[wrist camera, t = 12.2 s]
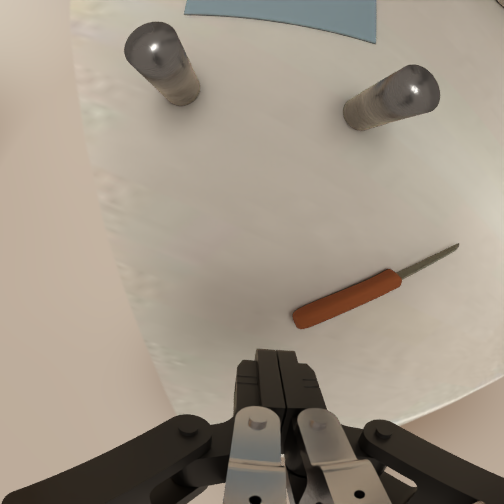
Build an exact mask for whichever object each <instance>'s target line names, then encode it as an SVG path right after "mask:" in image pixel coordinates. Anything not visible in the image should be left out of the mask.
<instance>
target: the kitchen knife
mask: <svg viewBox="0 0 504 504" xmlns="http://www.w3.org/2000/svg"><path fill="white" fill-rule="evenodd" d="M458 247H459V243H458V244H456V245H453V246H451V247H449V248H447V249H445V250H443V251H441V252H439V253H437V254H435V255H433V256H431V257H429V258H426V259H424V260H422V261H420V262H418V263H416V264H414V265H412V266H410V267H408V268H406V269H403V270H401V271H399V272H397V273H395V272H394V271H393V270H391V269H387V270H385V271H383V272H382V273H380V274H378V275H376V276H374V277H372V278H370V279H368V280H365V281H363V282H361V283H359V284H356V285H354V286H351V287H349V288H347V289H344V290H342V291H339V292H337V293H334V294H332V295H329V296H327V297H324V298H322V299H319V300H317V301H314V302H312V303H309V304H307V305H305V306H303V307H301V308H299V309H298V310H296V311H295V312H294V313H293V320H294V322H295V325H296V327H297V328H299V329H305V328H309V327H311V326H314V325H316V324H319V323H321V322H324V321H326V320H328V319H331V318H333V317H335V316H338V315H340V314H342V313H345V312H347V311H349V310H351V309H354V308H356V307H358V306H360V305H363V304H365V303H367V302H369V301H371V300H373V299H376V298H378V297H380V296H382V295H384V294H386V293H388V292H390V291H392V290H394V289H396V288H398V287H400V285H401V283H402V279H404V278H406V277H408V276H410V275H412V274H414V273H416V272H418V271H420V270H422V269H423V268H425V267H427V266H429V265H431V264H433V263H434V262H436V261H438V260H440V259H442V258H443V257H445V256H447V255H449V254H450V253H452V252H454V251H455V250H456V249H457V248H458Z"/></svg>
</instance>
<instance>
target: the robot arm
mask: <svg viewBox="0 0 504 504" xmlns="http://www.w3.org/2000/svg"><path fill="white" fill-rule="evenodd" d="M497 1H498V2H499V3H500V4H501V5H502V6H503V7H504V0H497ZM281 454H284V456H285V462H284V465H283V466H281ZM387 466H388V467H390V468H391V469H393V470H395V471H396V472H398V473H400V474H402V475H403V476H405V477H407V478H409V479H411V480H412V481H414V482H415V483H416V485H417V487H411V486H409V485H407V484H405V483H403V482H401V481H400V480H398V479H396V478H394V477H393V476H391V475H389V474H388V473H386V472H384V470H385V468H386V467H387ZM220 483H226V485H225V491H224V499H223V504H287V502H286V489H287V493H288V497H289V502H290V504H504V478H503V477H500V476H498V475H496V474H494V473H491V472H489V471H487V470H485V469H483V468H480V467H478V466H476V465H474V464H472V463H469V462H468V461H465V460H463V459H461V458H459V457H457V456H455V455H453V454H451V453H449V452H447V451H445V450H443V449H441V448H439V447H437V446H435V445H433V444H431V443H429V442H427V441H426V440H424V439H422V438H420V437H418V436H416V435H414V434H412V433H410V432H409V431H406V430H405V429H403V428H401V427H399V426H398V425H396V424H394V423H392V422H390V421H386V420H373V421H370V422H368V423H367V424H366V425H365V427H364V429H359V428H353V427H348V426H344V425H342V424H340V422H339V420H338V418H337V417H336V416H335V415H334V414H333V413H331V412H330V411H328V410H327V408H326V405H325V402H324V399H323V396H322V393H321V390H320V388H319V384H318V381H317V378H316V375H315V372H314V370H312V369H311V368H310V367H309V366H308V365H307V364H301V363H298V361H297V357H296V354H295V351H284V350H276V351H275V350H268V349H257V350H256V355H255V361H251V360H242V362H241V363H240V364H239V365H238V367H237V374H236V383H235V392H234V413H233V417H232V418H231V419H230V420H228V421H226V422H224V423H220V424H214V425H210V424H209V423H208V422H207V421H206V420H205V419H203V418H201V417H198V416H195V415H188V414H185V415H178V416H175V417H173V418H171V419H169V420H168V421H166V422H164V423H162V424H160V425H158V426H157V427H155V428H153V429H151V430H149V431H147V432H146V433H143V434H142V435H140V436H138V437H136V438H134V439H132V440H130V441H128V442H126V443H124V444H122V445H120V446H118V447H116V448H114V449H112V450H110V451H108V452H106V453H104V454H102V455H100V456H98V457H95V458H93V459H91V460H89V461H87V462H85V463H82V464H80V465H78V466H76V467H73V468H71V469H69V470H67V471H64V472H62V473H60V474H57V475H55V476H52V477H50V478H47V479H45V480H43V481H40V482H37V483H35V484H32V485H30V486H27V487H24V488H22V489H19V490H16V491H13V492H11V493H9V494H8V495H7V496H6V497H5V498H4V499H3V501H2V504H187V503H188V502H189V501H191V500H192V499H194V498H195V497H196V496H198V495H199V494H201V493H202V492H203V491H204V490H205V489H206V488H207V487H208V485H214V484H220Z"/></svg>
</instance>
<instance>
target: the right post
mask: <svg viewBox="0 0 504 504" xmlns="http://www.w3.org/2000/svg"><path fill="white" fill-rule="evenodd" d="M439 100H440V90H439V86H438V83H437V81H436V79H435V78H434V76H433V75H432V74H431V73H430V72H429V71H428V70H427V69H425V68H423V67H421V66H419V65H408V66H405V67H404V68H402V69H400V70H398V71H397V72H395V73H393V74H392V75H390V76H388V77H386V78H385V79H383V80H381V81H380V82H378V83H376V84H375V85H373V86H371V87H370V88H368V89H366V90H365V91H363V92H361V93H360V94H358V95H356V96H355V97H353V98H352V99H350V100H349V101H347V102H346V104H345V106H344V109H343V115H344V118H345V121H346V122H347V124H348V125H349V126H350V127H352V128H353V129H356V130H360V131H363V130H367V129H370V128H374V127H377V126H380V125H384V124H387V123H391V122H394V121H398V120H401V119H405V118H409V117H412V116H416V115H420V114H424V113H428V112H431V111H433V110H434V109H435V108H436V107H437V106H438V104H439Z"/></svg>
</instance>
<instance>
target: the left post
mask: <svg viewBox="0 0 504 504" xmlns="http://www.w3.org/2000/svg"><path fill="white" fill-rule="evenodd" d="M124 52H125V57H126V59H127V61H128V62H129V63H130V64H131V65H132V66H133V67H134V68H135V69H136V70H137V71H138V72H139V73H140V74H142V75H143V76H144V77H145V78H146V79H147V80H148V81H149V82H150V83H151V84H152V85H153V86H154V87H155V88H156V89H157V90H158V91H159V92H160V93H161V94H162V95H163V96H164V97H165V98H166V99H167V100H168V101H169V102H171V103H172V104H174V105H177V106H184V105H188V104H190V103H192V102H193V101H194V100H195V99H196V98H197V97H198V95H199V92H200V83H199V81H198V79H197V76H196V74H195V72H194V70H193V68H192V66H191V63H190V61H189V59H188V57H187V55H186V53H185V50H184V48H183V46H182V44H181V42H180V40H179V38H178V36H177V33H176V31H175V30H174V29H173V28H172V27H171V26H170V25H168V24H166V23H163V22H150V23H147V24H144V25H142V26H140V27H138V28H137V29H136V30H134V31H133V32H132V33H131V35H130V36H129V37H128V39H127V41H126V44H125V48H124Z"/></svg>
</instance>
